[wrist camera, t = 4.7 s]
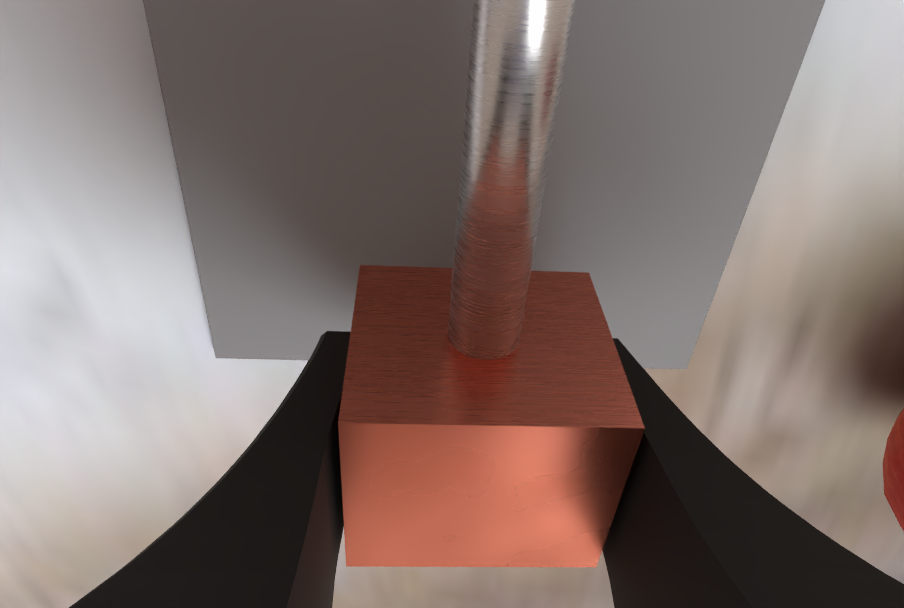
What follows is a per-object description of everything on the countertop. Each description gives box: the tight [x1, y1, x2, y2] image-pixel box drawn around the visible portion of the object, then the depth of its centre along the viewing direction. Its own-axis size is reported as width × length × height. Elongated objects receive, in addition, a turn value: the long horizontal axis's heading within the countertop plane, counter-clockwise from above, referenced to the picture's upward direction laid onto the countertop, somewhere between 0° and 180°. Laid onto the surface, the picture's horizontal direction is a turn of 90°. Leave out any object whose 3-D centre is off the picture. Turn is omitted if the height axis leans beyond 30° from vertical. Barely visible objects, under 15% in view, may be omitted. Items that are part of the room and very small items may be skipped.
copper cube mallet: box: [338, 0, 645, 567], centre depth 8 cm, size 16×4×4 cm, turn 176°
